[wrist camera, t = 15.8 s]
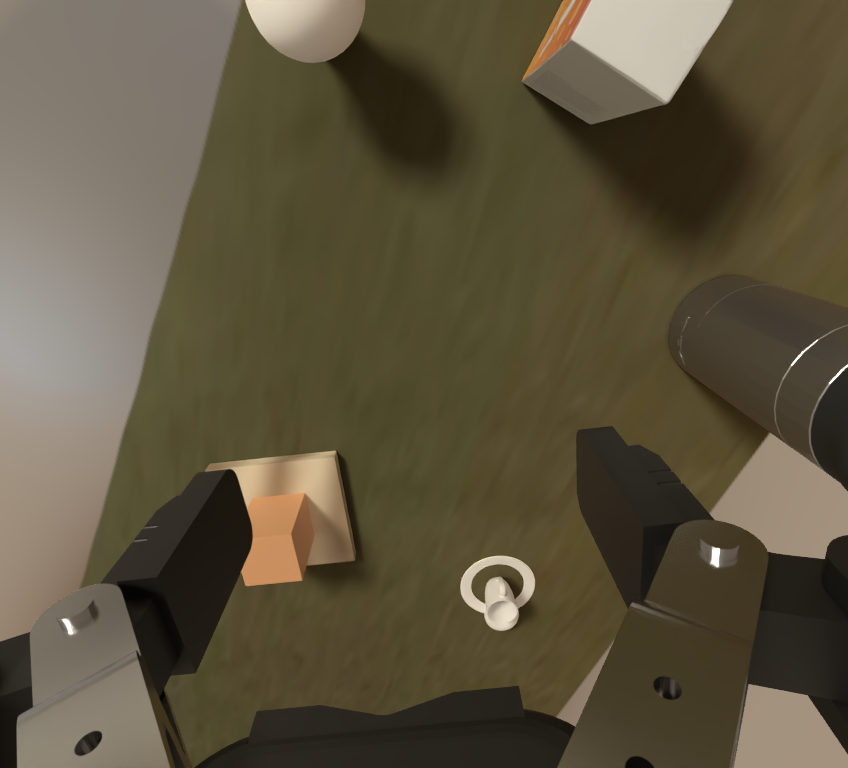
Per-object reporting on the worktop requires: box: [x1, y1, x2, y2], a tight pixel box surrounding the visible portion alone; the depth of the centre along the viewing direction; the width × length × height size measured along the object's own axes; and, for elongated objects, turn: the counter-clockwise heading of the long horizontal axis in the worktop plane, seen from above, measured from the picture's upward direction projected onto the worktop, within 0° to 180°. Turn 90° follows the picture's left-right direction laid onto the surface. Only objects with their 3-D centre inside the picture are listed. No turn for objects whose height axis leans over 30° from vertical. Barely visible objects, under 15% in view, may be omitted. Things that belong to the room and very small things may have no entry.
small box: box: [522, 0, 733, 124], centre depth 31 cm, size 8×6×13 cm
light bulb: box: [245, 0, 365, 63], centre depth 31 cm, size 7×7×11 cm
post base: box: [205, 451, 356, 565], centre depth 48 cm, size 12×12×5 cm
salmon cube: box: [241, 493, 314, 586], centre depth 47 cm, size 5×5×6 cm
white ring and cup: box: [460, 556, 535, 631], centre depth 54 cm, size 9×8×4 cm
